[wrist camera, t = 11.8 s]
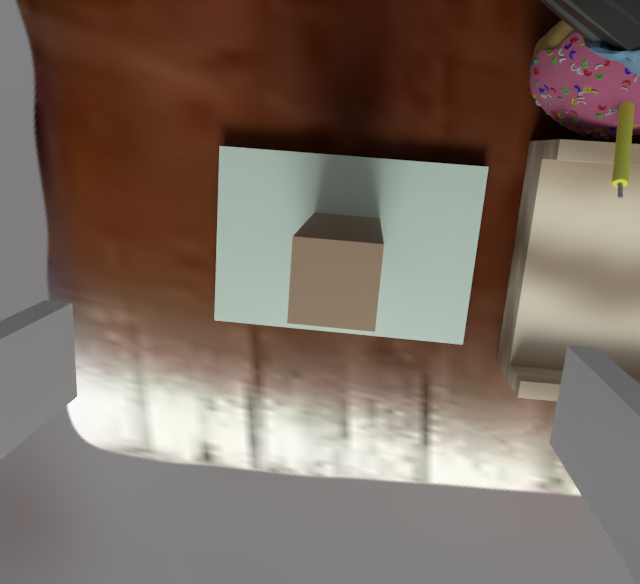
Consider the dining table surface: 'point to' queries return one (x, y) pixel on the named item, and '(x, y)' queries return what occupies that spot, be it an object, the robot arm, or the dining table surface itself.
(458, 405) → the dining table surface
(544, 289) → the birch box
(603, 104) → the cupcake
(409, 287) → the cover plate
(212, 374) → the dining table surface
